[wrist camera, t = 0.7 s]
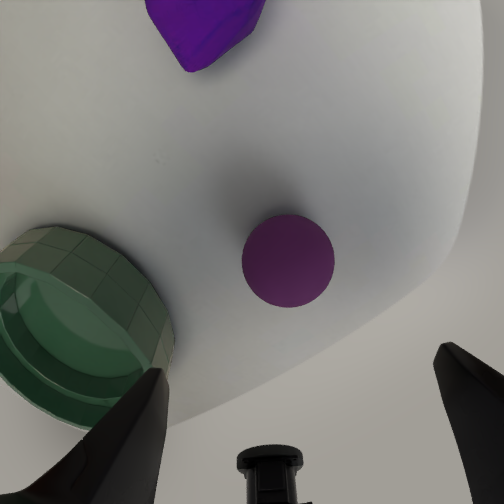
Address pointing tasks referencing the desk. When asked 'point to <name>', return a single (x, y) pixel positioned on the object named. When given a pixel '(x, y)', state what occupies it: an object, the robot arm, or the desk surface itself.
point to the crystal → (203, 27)
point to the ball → (288, 261)
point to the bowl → (77, 324)
